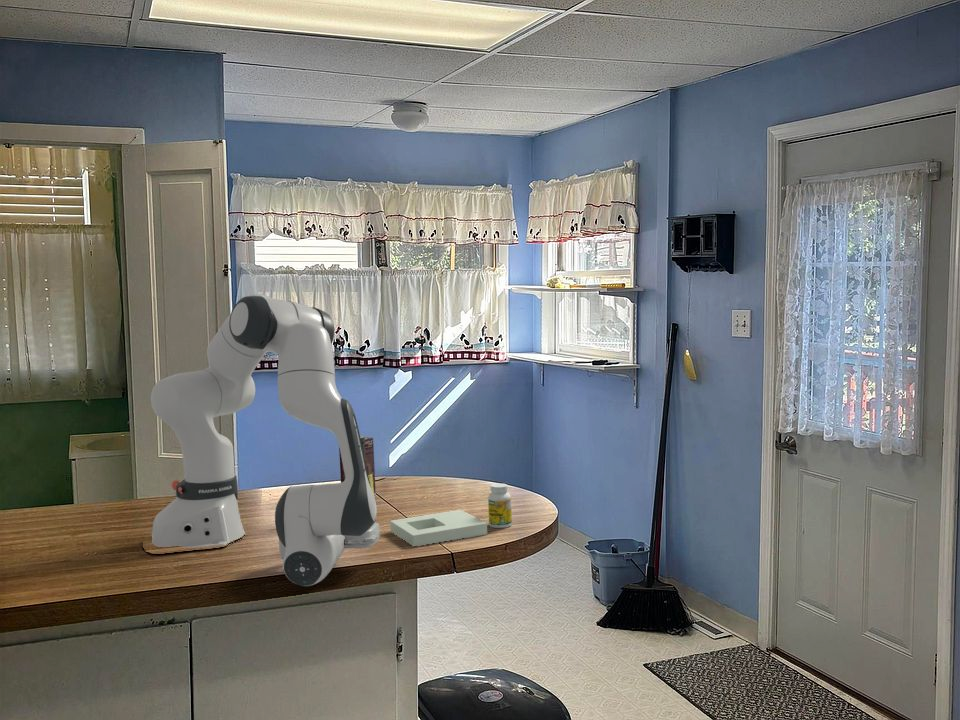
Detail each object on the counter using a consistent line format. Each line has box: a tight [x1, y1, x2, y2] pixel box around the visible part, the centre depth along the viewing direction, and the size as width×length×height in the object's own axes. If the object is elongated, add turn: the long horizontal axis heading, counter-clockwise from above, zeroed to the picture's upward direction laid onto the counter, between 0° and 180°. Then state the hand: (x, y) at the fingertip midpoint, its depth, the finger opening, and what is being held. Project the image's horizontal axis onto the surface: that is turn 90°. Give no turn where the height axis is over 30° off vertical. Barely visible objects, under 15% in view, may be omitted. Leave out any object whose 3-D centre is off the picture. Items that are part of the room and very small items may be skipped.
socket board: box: [389, 509, 488, 547], centre depth 211 cm, size 18×14×3 cm
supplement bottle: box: [487, 482, 513, 529], centre depth 216 cm, size 5×5×10 cm
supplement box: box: [338, 436, 377, 497], centre depth 248 cm, size 9×5×16 cm, turn 58°
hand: (337, 524), depth 196 cm, fingers open, 8 cm apart
